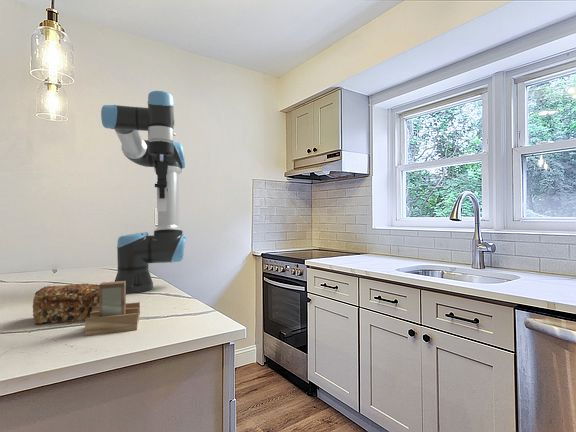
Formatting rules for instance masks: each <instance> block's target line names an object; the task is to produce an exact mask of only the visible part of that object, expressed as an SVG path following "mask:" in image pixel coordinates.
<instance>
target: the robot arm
mask: <svg viewBox="0 0 576 432" xmlns="http://www.w3.org/2000/svg"><path fill="white" fill-rule="evenodd" d="M174 105H175V103H174V96H173V95H172V93H170V92H167V91H163V90H153V91H150V92H149V93H148V96H147V107H141V106H129V105H118V104H104V105H102V107H101V110H100V115H101V116H100V117H101V118H100V119H101V123H102V127H104V128H105V129H109V130H114V131H115V134H116V135H117V137H118V139H119V141H120V144H121V151H122V154H123V155H124V156H125V158H127V159H128V160H129V161H130V162H132V163H134V164H136V165H138V166H140V167H141V166H142V167H145V168H149V167H150V168H153V171H154V172H155V175H157V178H156V179H157V181H156V183H154V188H156V208H157V210H156V211H157V227H156V228H155V229H154V230H153V235H149V232H147V231H146V232H145V231H144V232H136V233H131V234H125V235H121V236H119V237H118V238H117V245H116V250H117V253H116V254H117V255H116V256H117V257H116V258H117V273H116V276H115V279H114V282H117V281H126V294H136V293H142V292H146V291H150V290H153V289H154V281H153V279H152V276H151V272H150V269H149V265H150V264H164V263H165V264H166V263H171V264H172V263H179V262H181V261H183V260H184V255H185V248H186V238H187V235H186V234H185V233H184V234H183V229H182V228H180V225H179V224H180V223H179V222H180V217H179V216H180V215H179V212H180V211H179V210H180V209H179V207H180V206H179V204H180V203H179V200H180V199H179V198H180V197H179V175H181V173H182V171H183V169H185V168H186V161H185V154H184V148H183V144H182V143H181V142H179V141H175V138H174V137H175V136H176V135H177V133H175V132H174V129H175V128H174V127H175V115H174V112H175V111H174ZM140 131H143V132H144V131H145V132H147V139H142V136H141V134H140Z"/></svg>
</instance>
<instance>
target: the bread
mask: <svg viewBox="0 0 576 432" xmlns="http://www.w3.org/2000/svg"><path fill="white" fill-rule="evenodd" d="M99 285H100V284H98V283H97V284H96V283H75V284H73V283H71V284H66V285H65V284H64V285H47V286H44V287H42V288H40V289H39V290H37V291H36V292H35V293H34V297H33V301H32V317H33V321H34V324H36V325H37V324H39V325H42V324H43V323H49V324H50V323H51V324H53V323H55V324H56V323H70V322H81V321H82V322H83V321H85V319H86V318H90V312H94V307H95V306H99Z"/></svg>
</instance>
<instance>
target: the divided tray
mask: <svg viewBox="0 0 576 432" xmlns="http://www.w3.org/2000/svg"><path fill="white" fill-rule="evenodd" d="M140 305H141V303H140V301H138V302H129V303H128V302H126V314H123V315H113V316H103V317H99V306H95V307H94V312H90V318H86V319H85V320H84V326H85V327H84V336H85V337H87V336H88V337H89V336H94V335H95V336H96V335H103V334H104V335H105V334H111V333H112V334H114V333H122V332H130V331H138V326H139V321H140V316H141V311H140V310H141V309H140V308H141V306H140Z"/></svg>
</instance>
